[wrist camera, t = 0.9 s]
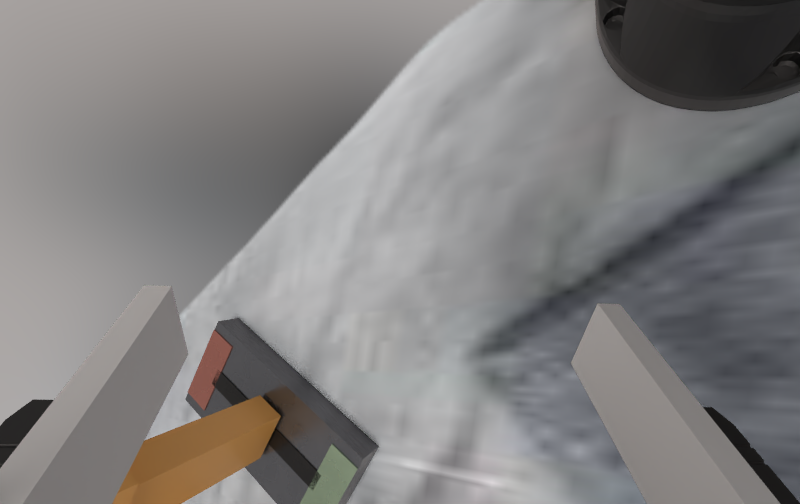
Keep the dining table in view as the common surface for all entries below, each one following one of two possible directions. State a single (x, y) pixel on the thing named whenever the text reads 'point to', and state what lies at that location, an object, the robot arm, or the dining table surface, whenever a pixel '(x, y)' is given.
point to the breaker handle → (198, 454)
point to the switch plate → (282, 419)
